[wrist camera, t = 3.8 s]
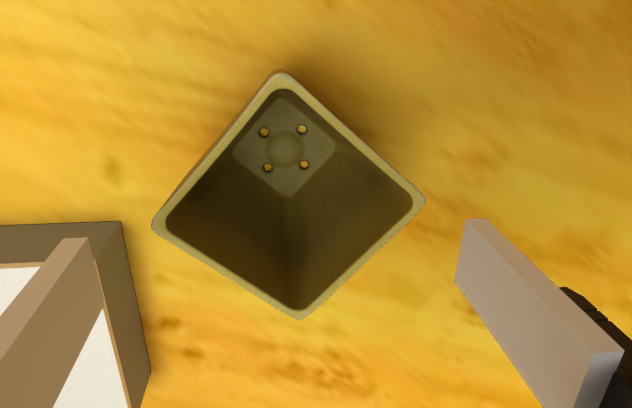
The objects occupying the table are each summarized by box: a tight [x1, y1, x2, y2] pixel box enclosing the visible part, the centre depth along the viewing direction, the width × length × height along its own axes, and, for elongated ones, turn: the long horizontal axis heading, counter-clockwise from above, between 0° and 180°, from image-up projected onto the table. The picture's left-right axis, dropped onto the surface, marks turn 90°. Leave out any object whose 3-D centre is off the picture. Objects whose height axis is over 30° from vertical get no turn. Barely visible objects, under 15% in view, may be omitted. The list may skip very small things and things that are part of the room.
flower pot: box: [151, 70, 426, 320], centre depth 22 cm, size 9×9×9 cm
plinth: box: [0, 221, 151, 408], centre depth 27 cm, size 13×13×5 cm
